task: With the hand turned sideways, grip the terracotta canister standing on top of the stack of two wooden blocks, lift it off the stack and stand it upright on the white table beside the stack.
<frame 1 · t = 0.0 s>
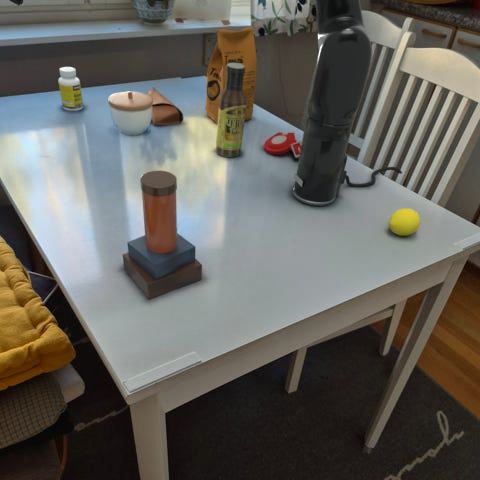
trinket box: (133, 130, 121), on the table
lemon: (400, 234, 95), on the table
sunglasses case: (156, 113, 131), on the table
tracker holder: (284, 153, 119), on the table
block stack: (162, 274, 80), on the table
sauce bottle: (228, 154, 116), on the table
supplement bottle: (73, 108, 129), on the table
coffee package: (228, 118, 132), on the table
terracotta canister: (161, 244, 75), point 6 cm above the table, touching block stack
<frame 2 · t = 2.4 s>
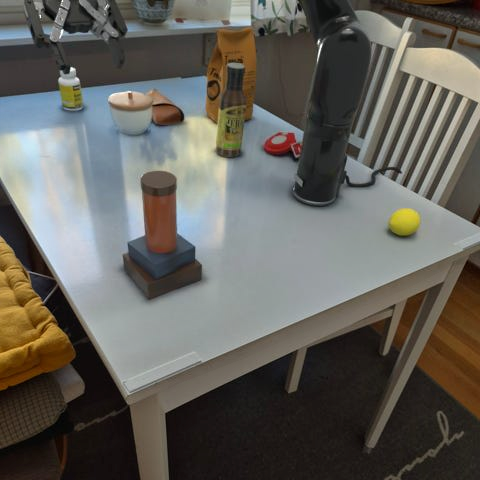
hand: (95, 68, 72), 27 cm above the table, tool tilted 45°, fingers open, 8 cm apart
nothing on the table moved.
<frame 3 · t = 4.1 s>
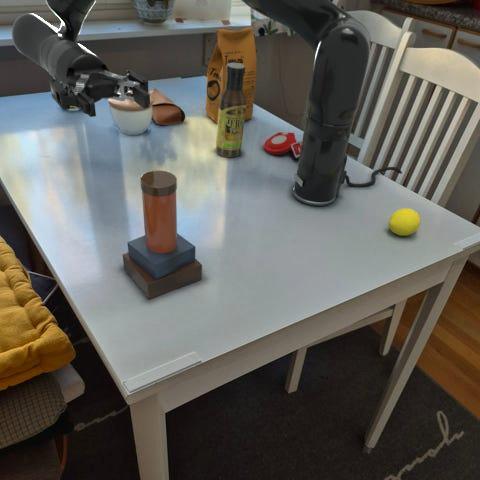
hand: (120, 105, 69), 24 cm above the table, tool horizontal, fingers open, 8 cm apart
nothing on the table moved.
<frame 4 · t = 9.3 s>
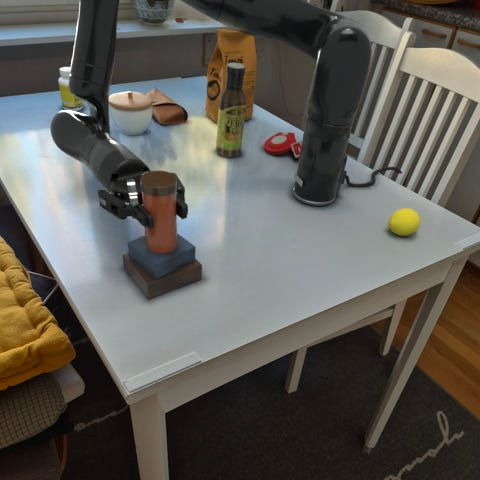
hand: (168, 218, 70), 13 cm above the table, tool horizontal, fingers closed on terracotta canister, 5 cm apart
terracotta canister: (161, 244, 75), point 6 cm above the table, touching block stack, gripper
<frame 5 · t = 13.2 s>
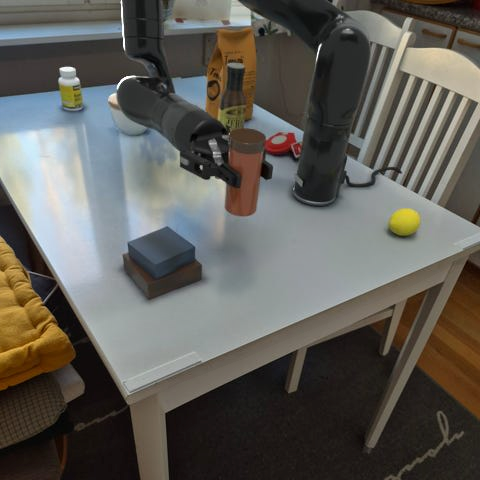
hand: (255, 177, 67), 19 cm above the table, tool horizontal, fingers closed on terracotta canister, 5 cm apart
terracotta canister: (240, 207, 73), point 13 cm above the table, touching gripper
when the fingers open (6 cm above the table, at t = 17.3 s): terracotta canister stays where it is, on the table.
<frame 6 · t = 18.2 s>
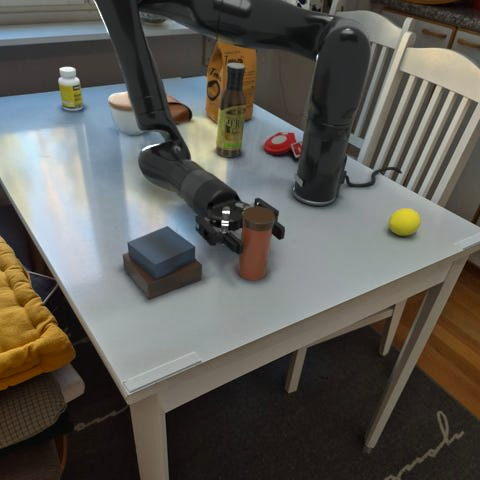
hand: (263, 242, 77), 7 cm above the table, tool horizontal, fingers open, 8 cm apart
terracotta canister: (252, 271, 82), on the table
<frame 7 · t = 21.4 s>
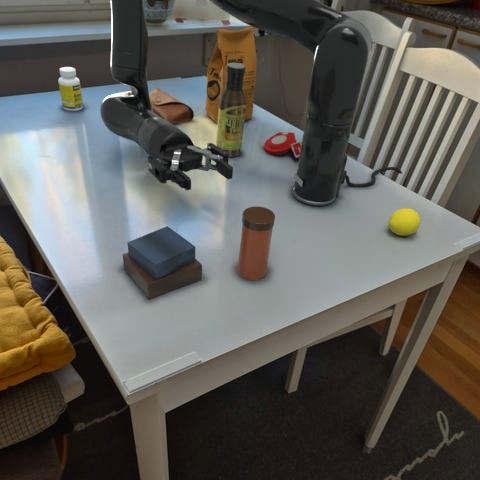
hand: (210, 179, 81), 12 cm above the table, tool horizontal, fingers open, 8 cm apart
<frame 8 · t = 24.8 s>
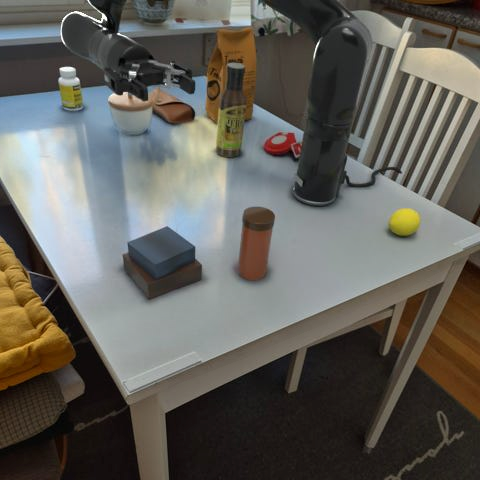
hand: (170, 91, 76), 24 cm above the table, tool horizontal, fingers open, 8 cm apart
at the end: terracotta canister inside the target area (0.1 cm from its centre), on the table; terracotta canister tilted 0°; the gripper is holding nothing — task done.
